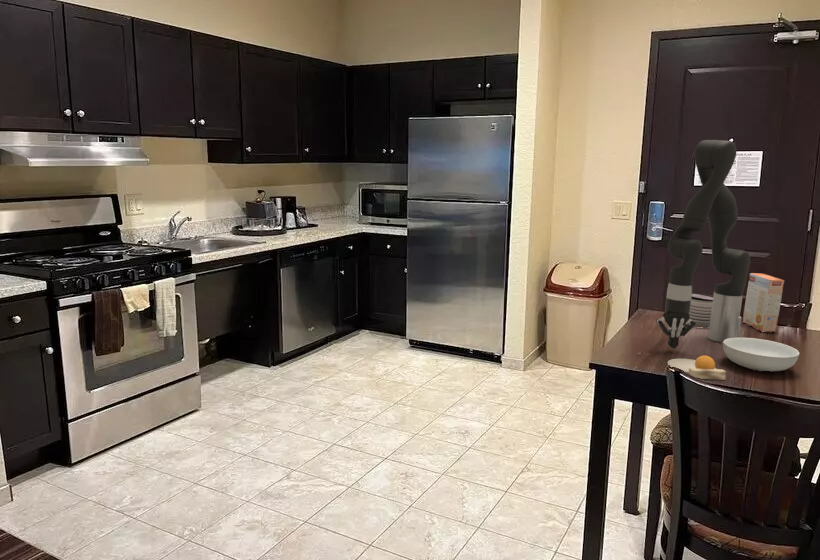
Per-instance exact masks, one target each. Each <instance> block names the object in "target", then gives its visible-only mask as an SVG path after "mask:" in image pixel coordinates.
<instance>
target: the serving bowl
mask: <svg viewBox="0 0 820 560" xmlns="http://www.w3.org/2000/svg"><path fill="white" fill-rule="evenodd" d="M722 348H723V353H724V354H725V356H726V357H727V358H728V359H729V360H730V361H731V362H733V363H735V364H737V365H738V366H741V367H744V368H745V367H746V369H748V368H749V369H748V370H751V369H752V371H756V370H758V371H757V372H762V371H770V372H780V371H785V370H788V369H790V368H791V367H793V366H794V365H795V364H796V363H797V361H798V359H799V356H800V352H799V350H798V349H796V348H794V347H793V346H790V345H788V344H786V343H780V342H778V341H773V340H768V339H762V338H755V337H739V338H728V339H725V340H724V341H723V343H722Z"/></svg>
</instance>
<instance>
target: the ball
mask: <svg viewBox="0 0 820 560" xmlns="http://www.w3.org/2000/svg"><path fill="white" fill-rule="evenodd" d="M695 360H696V361H695V367H696V369H714V368H716V361H715V360H714V359H713V358H712V357H711V356H709V355H700V356H698V357H697V358H695Z"/></svg>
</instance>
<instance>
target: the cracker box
mask: <svg viewBox="0 0 820 560" xmlns="http://www.w3.org/2000/svg"><path fill="white" fill-rule="evenodd" d="M748 277H749V278H748V284H747V289H746V297H745V303H744V308H743V314H742V316H743V317H742V320H741V323H742V322H743V323H747V324H750V325H752V326H753V327H755V328H757V329H759V330H761V331H776V332H777V327H778V321H779V314H780V309H781V304H782V303H781V302H782V296H783V290H784V284H785V280H784V279H781V278H778V277H775V276H772V275H769V274H766V273H756V272H751V273H749V275H748ZM743 323H742V324H743Z"/></svg>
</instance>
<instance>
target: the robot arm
mask: <svg viewBox="0 0 820 560" xmlns="http://www.w3.org/2000/svg"><path fill="white" fill-rule="evenodd" d="M694 149H695V150H694V163H695V166H696V171H697V172H698V173H697V174H698V176H699V177H698V178H699V180H700V183H701V188H700V189H699V190H697V192H696V193H695V194H694V195H693V196H692V198H690V200H689V201H688V203H687V205H686V208H685V211H684V214H683V216H682V220H681V222H680V224H679V225H678V226H677V228H676V230H675V231H674V233H673V234H672V236H671V237H670V239H669V241H668V245H667V251H668V253H669V255H670V256H671V257H673V258H675V259H683V260H682V262H681V264H677V265H674V266H671V268H670V272H669V281H668V287H667V289H666V291H667V292H666V297H665V298H666V299H665V306H664V313H663V314H662V316H661V317H660V318H657V319H655V322H656V324H657V325H658V326H659V328H660V330H661V331H662V333H663V334H665V335H666V336H668V341H667V345H668V346H669V348H671V349H677V347H678V346H679V340H680V337H682V336H683V337H684V336H686V335H687V334H688V333H689V332H690V331H691V330H692V329H693V328H694V326H695V324H696V323H695V322H694V321H692V320H691V319H690V316H689V311H690V304H691V298H692V294H693V281H694V280H693V279H694V273H695V271H696V270H697V267H698V264H699V262H700V259H701V257H702V255H703V249H704V248H703V244H702V242H701V241H700V240H699V239H698V238H691V236H692V235H693V234H695V233H701V232H703V231H704V229H705V227H706V224H707V223H708V226H709V233H710V234H709V235H710V241H711V256H712V259H711V261H712V267H713V270H715V272H716V273H719V274H723V275H729V276H731V278H730V280H729V281H726V282H720V283H716V284H715V285H714V290H713V296H712V297H713V303H712V310H711V317H710V325H709V328H708V331H707V339H709V340H710V341H712V342H713V341H714V342H718V343H722V342H723V341H724V340H725V339H728V338H740V330H741V326H742V325H741V323H742V320H743V317H742V316H741V310H742V303H743V296H744V291H745V288H746V285H747V279H748V276H749V270H750V265H751V255H750V253H749V252H748V251H746V250H743V249H735V248H729V247H728V245H727V238H728V236H729V234H730V233H731V231H732V229H733V228H734V227H735V225H736V223H737V221H738V217H739V215H738V206H737V201H736V198H735V196H734V194H733V193H732V192H731V190H730V189H729V187H727V185H725V181H726V179H727V177H728V175H729V174H730V171H731V170H732V167H733V165H734V162H735V161H736V157H737V147H736V143H734V141H732V140H723V139H721V140H719V139H705V140H704V139H703V140H701V141H699V142H698V143H697V145H696V147H695V148H694ZM685 323H686V325H685ZM665 324H667V327H666V325H665Z"/></svg>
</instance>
